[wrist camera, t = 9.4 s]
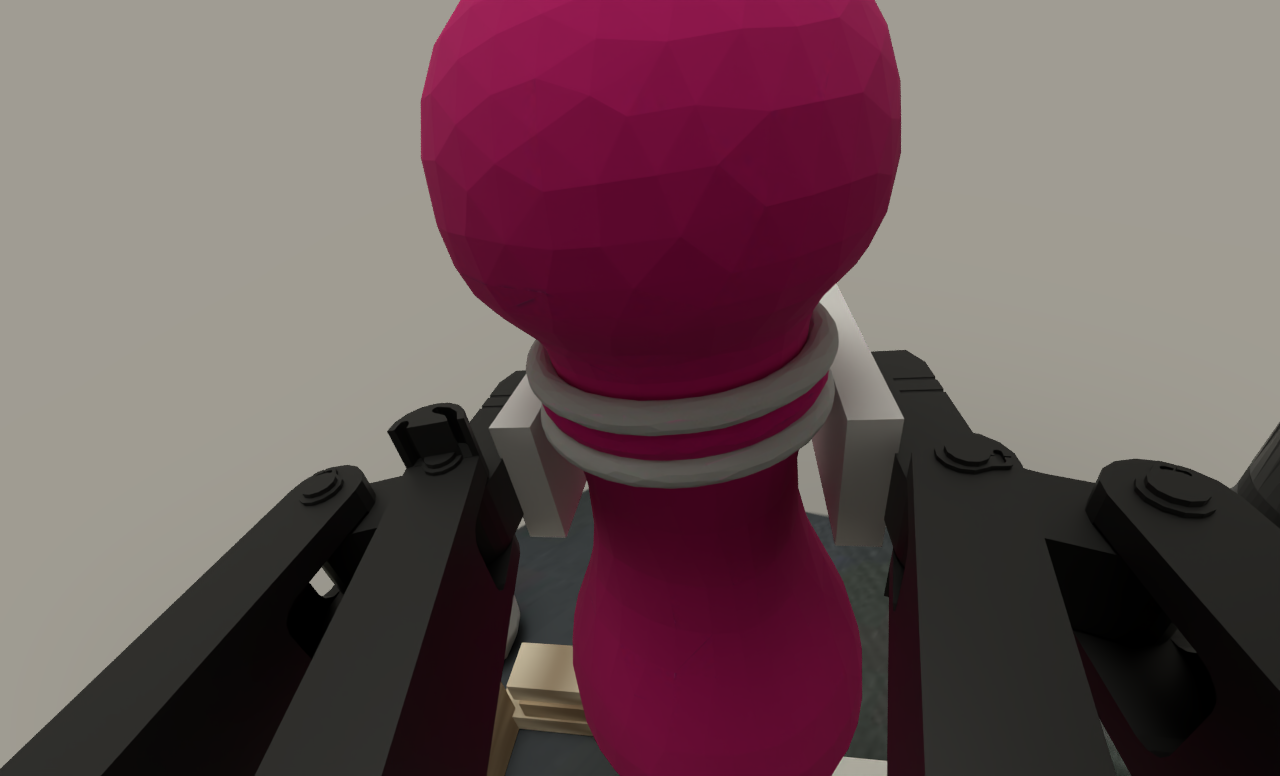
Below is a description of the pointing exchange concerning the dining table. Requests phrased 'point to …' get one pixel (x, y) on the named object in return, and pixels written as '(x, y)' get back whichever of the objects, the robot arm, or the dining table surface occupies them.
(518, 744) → the dining table surface
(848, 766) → the mat
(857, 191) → the pepper mill
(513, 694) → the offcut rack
